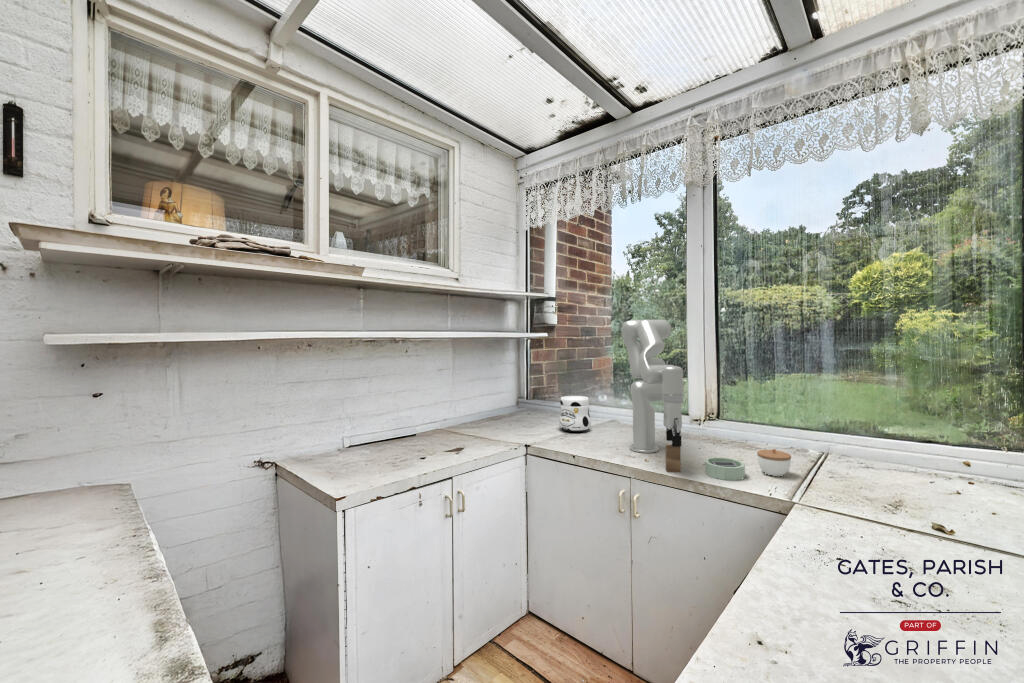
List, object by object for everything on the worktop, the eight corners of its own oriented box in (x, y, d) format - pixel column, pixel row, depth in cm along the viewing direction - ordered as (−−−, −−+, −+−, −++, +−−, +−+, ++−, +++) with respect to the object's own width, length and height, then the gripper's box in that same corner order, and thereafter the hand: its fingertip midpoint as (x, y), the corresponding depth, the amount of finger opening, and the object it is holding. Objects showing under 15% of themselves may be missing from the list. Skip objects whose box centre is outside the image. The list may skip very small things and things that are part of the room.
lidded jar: (796, 479, 152) (796, 453, 152) (763, 478, 155) (763, 452, 154) (783, 470, 163) (783, 445, 163) (753, 468, 165) (753, 444, 165)
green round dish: (701, 468, 167) (701, 456, 167) (736, 469, 165) (736, 457, 165) (711, 479, 154) (711, 467, 154) (750, 480, 152) (750, 468, 152)
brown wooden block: (665, 469, 165) (665, 444, 165) (679, 470, 165) (678, 444, 165) (667, 472, 163) (666, 446, 163) (680, 472, 162) (680, 446, 162)
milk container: (558, 433, 227) (557, 400, 227) (560, 426, 244) (559, 395, 244) (591, 434, 225) (590, 400, 224) (590, 427, 242) (590, 395, 241)
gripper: (658, 396, 172) (659, 438, 172) (667, 401, 155) (668, 448, 155) (677, 396, 171) (678, 438, 171) (689, 401, 154) (690, 449, 154)
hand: (673, 443), depth 163 cm, fingers open, 9 cm apart
